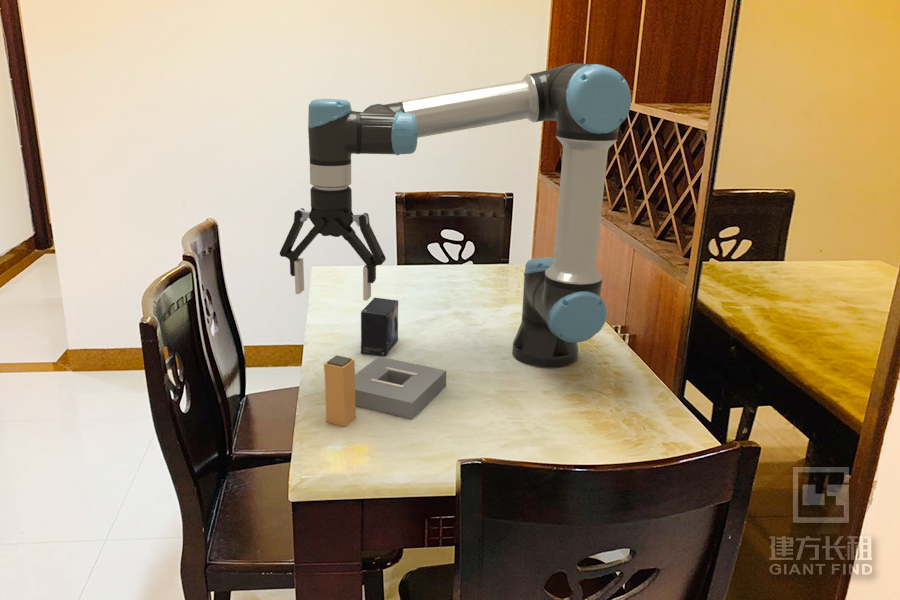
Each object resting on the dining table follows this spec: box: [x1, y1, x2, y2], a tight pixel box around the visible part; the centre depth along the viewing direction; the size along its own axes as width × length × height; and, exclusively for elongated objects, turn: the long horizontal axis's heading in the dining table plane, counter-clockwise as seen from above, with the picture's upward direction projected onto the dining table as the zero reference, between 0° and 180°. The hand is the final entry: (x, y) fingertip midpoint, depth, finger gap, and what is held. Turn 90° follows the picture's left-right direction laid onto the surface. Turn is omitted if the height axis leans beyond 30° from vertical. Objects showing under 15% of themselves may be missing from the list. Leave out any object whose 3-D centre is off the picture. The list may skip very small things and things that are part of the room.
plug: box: [323, 354, 357, 427], centre depth 136 cm, size 4×4×12 cm
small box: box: [360, 297, 399, 357], centre depth 169 cm, size 11×6×10 cm, turn 168°
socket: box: [355, 356, 447, 420], centre depth 148 cm, size 16×16×4 cm
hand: (333, 295), depth 141 cm, fingers open, 13 cm apart
